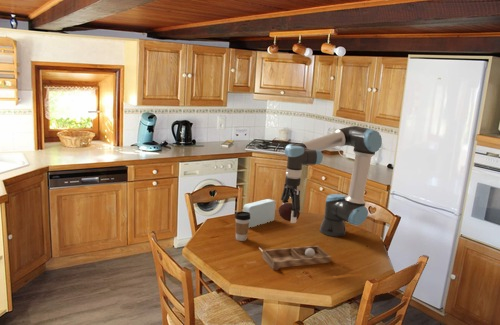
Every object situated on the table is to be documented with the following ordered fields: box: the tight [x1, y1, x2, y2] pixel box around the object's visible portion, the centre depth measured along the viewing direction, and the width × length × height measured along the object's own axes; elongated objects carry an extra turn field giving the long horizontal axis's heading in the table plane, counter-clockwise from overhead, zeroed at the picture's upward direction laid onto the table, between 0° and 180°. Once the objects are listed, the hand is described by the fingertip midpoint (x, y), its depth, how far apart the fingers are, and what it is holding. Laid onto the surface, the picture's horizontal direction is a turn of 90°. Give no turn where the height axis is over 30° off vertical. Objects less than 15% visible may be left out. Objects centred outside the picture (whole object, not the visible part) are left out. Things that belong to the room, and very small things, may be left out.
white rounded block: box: [242, 198, 277, 229], centre depth 270 cm, size 23×6×13 cm, turn 136°
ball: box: [305, 248, 315, 258], centre depth 224 cm, size 5×5×5 cm
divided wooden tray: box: [261, 245, 332, 271], centre depth 221 cm, size 31×14×4 cm, turn 110°
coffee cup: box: [234, 211, 250, 242], centre depth 243 cm, size 8×8×15 cm
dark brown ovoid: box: [278, 202, 301, 222], centre depth 225 cm, size 9×12×9 cm
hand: (288, 218), depth 226 cm, fingers closed on dark brown ovoid, 11 cm apart
